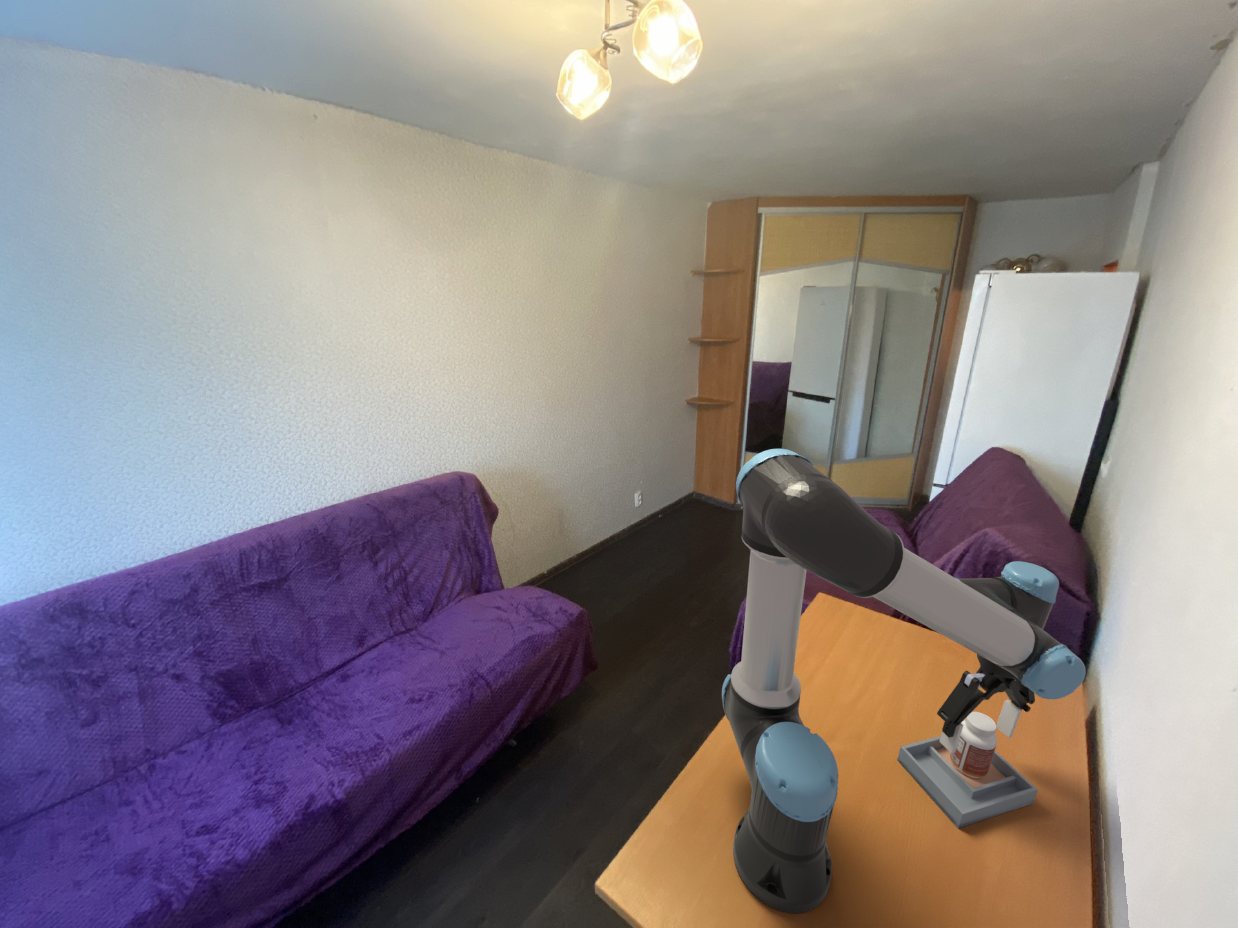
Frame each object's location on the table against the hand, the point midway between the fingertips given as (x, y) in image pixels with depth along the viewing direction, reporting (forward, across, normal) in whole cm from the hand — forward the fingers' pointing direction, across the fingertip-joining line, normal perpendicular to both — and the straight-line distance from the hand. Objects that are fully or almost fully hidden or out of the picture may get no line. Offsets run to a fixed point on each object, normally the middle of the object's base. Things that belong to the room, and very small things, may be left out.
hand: (975, 739), depth 99 cm
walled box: (+8, -3, -2) cm, 8 cm away
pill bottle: (+7, 0, 0) cm, 7 cm away
